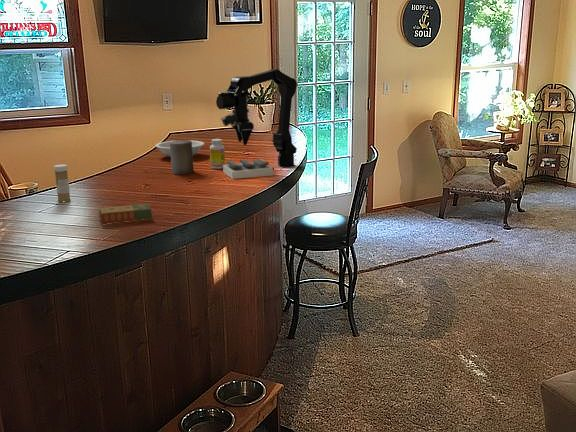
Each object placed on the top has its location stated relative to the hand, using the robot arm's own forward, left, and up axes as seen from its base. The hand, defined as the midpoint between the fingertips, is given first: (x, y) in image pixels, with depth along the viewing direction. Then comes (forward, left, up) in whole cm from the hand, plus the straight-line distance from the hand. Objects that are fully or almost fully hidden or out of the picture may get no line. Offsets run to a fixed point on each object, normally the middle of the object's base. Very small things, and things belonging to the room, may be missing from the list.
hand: (242, 143), depth 275 cm
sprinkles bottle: (+75, +22, -13) cm, 79 cm away
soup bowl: (+19, -50, -13) cm, 55 cm away
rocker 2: (-1, +2, -9) cm, 9 cm away
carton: (+56, +56, -14) cm, 80 cm away
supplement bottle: (+8, -16, -13) cm, 22 cm away
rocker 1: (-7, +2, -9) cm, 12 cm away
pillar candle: (+25, -12, -13) cm, 30 cm away
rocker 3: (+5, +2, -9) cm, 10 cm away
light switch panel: (-3, +2, -13) cm, 13 cm away
